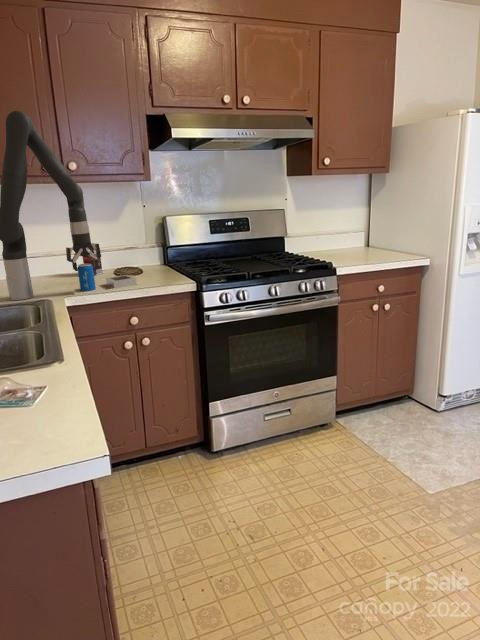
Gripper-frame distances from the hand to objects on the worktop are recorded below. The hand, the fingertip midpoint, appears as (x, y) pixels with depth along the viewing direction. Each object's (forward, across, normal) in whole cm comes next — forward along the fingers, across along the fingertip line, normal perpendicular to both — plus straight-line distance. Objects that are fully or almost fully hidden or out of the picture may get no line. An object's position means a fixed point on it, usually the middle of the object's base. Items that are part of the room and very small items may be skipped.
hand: (86, 269), depth 210 cm
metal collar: (+9, +15, -1) cm, 17 cm away
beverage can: (+10, 0, 0) cm, 10 cm away
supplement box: (+10, +13, +37) cm, 41 cm away
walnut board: (+10, +13, -1) cm, 17 cm away
